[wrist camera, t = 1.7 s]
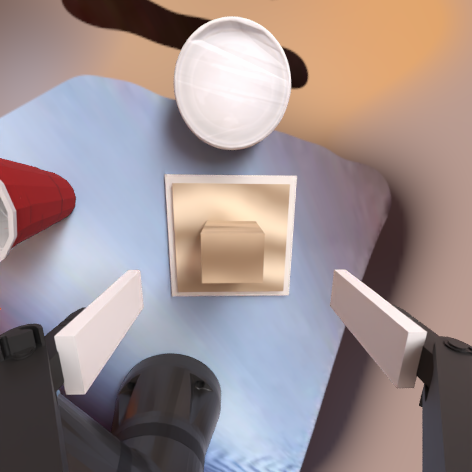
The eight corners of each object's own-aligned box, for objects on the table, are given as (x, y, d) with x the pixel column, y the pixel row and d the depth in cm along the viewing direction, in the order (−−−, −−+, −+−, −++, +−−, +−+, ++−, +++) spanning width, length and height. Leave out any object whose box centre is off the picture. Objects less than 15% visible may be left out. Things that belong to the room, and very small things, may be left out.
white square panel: (287, 293, 32) (288, 295, 32) (173, 294, 32) (172, 296, 31) (295, 176, 29) (296, 175, 28) (166, 174, 28) (164, 174, 27)
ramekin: (269, 37, 25) (280, 0, 20) (287, 143, 28) (300, 134, 23) (171, 61, 25) (157, 30, 20) (197, 164, 28) (190, 160, 23)
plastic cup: (14, 239, 29) (-129, 278, 17) (-3, 149, 27) (-182, 124, 15) (101, 242, 30) (20, 281, 18) (93, 154, 27) (-8, 133, 15)
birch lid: (281, 288, 31) (299, 322, 24) (179, 289, 31) (163, 324, 23) (288, 184, 28) (310, 184, 21) (173, 183, 28) (153, 183, 20)
